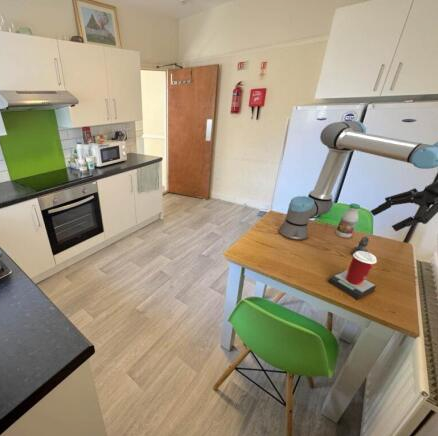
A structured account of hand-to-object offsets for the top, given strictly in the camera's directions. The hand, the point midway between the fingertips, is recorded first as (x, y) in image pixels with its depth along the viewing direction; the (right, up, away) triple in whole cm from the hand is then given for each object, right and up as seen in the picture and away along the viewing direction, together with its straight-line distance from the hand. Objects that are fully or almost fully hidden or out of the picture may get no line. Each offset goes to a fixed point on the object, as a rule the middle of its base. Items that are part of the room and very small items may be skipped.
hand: (382, 220), depth 100 cm
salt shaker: (+14, -19, +27) cm, 36 cm away
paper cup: (-7, -27, +6) cm, 29 cm away
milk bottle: (+21, -9, +45) cm, 51 cm away
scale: (-7, -30, +7) cm, 31 cm away
